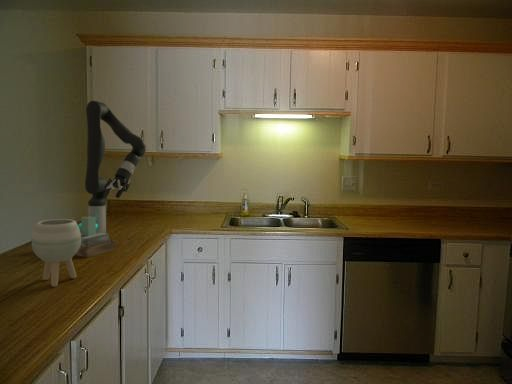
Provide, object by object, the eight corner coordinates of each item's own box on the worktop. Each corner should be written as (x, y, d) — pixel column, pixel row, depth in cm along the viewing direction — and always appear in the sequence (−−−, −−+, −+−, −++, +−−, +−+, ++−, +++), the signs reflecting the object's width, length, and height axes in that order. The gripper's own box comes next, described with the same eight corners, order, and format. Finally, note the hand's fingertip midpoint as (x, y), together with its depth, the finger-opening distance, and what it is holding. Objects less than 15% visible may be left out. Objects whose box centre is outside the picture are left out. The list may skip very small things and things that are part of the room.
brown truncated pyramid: (61, 252, 183) (60, 236, 182) (90, 245, 198) (89, 229, 198) (87, 257, 176) (87, 240, 175) (115, 249, 191) (115, 233, 191)
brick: (81, 235, 185) (81, 217, 185) (89, 233, 190) (88, 216, 189) (88, 236, 184) (88, 218, 183) (95, 234, 188) (95, 217, 187)
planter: (88, 275, 152) (87, 218, 150) (70, 289, 136) (69, 226, 134) (46, 274, 151) (45, 217, 149) (23, 288, 135) (21, 225, 133)
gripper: (111, 166, 206) (96, 192, 198) (131, 167, 199) (116, 193, 192) (119, 175, 212) (105, 200, 204) (139, 176, 205) (125, 201, 197)
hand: (110, 196), depth 198 cm, fingers open, 8 cm apart
